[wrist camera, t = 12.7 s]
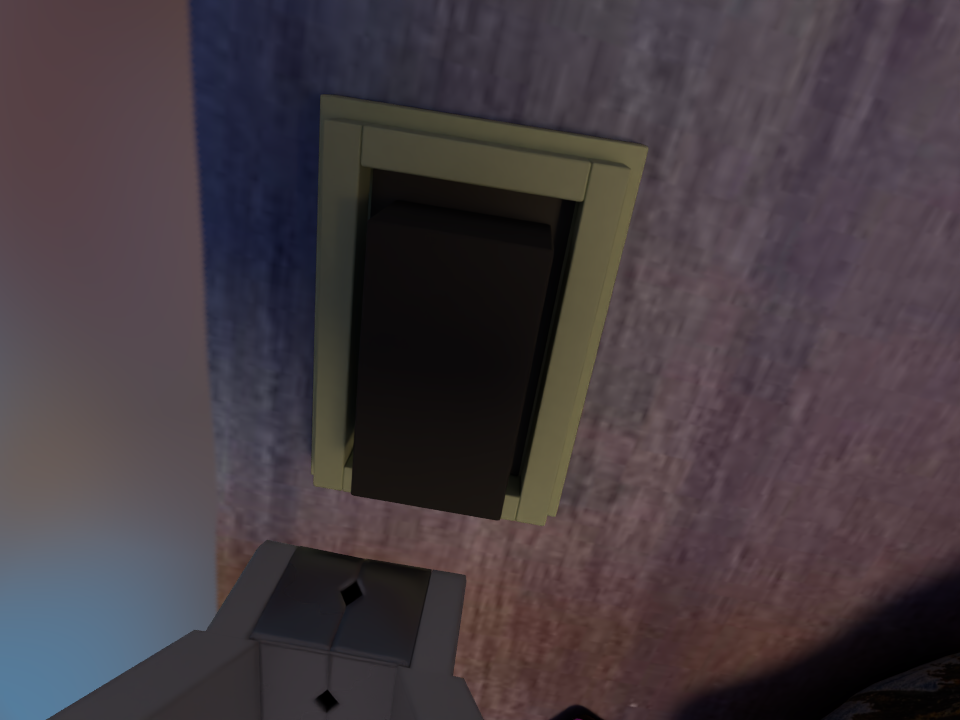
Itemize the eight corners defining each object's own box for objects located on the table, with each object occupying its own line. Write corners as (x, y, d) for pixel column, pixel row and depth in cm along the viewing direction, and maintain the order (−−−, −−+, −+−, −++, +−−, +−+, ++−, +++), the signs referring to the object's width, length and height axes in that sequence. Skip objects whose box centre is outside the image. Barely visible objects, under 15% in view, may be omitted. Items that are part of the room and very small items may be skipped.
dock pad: (331, 94, 16) (302, 93, 14) (642, 144, 16) (658, 150, 14) (319, 459, 21) (297, 496, 19) (554, 499, 21) (556, 541, 19)
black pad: (395, 199, 16) (366, 218, 13) (551, 224, 16) (554, 250, 13) (376, 440, 19) (349, 496, 17) (505, 462, 19) (500, 522, 17)
